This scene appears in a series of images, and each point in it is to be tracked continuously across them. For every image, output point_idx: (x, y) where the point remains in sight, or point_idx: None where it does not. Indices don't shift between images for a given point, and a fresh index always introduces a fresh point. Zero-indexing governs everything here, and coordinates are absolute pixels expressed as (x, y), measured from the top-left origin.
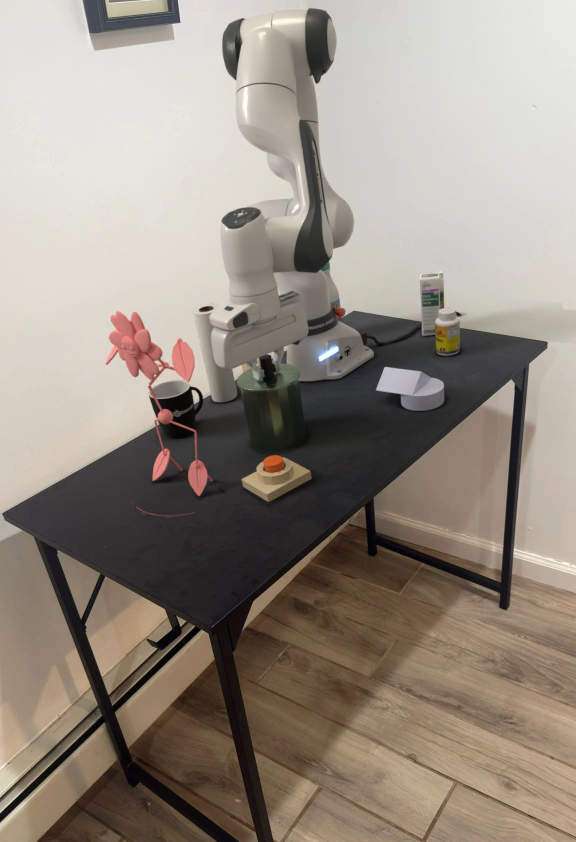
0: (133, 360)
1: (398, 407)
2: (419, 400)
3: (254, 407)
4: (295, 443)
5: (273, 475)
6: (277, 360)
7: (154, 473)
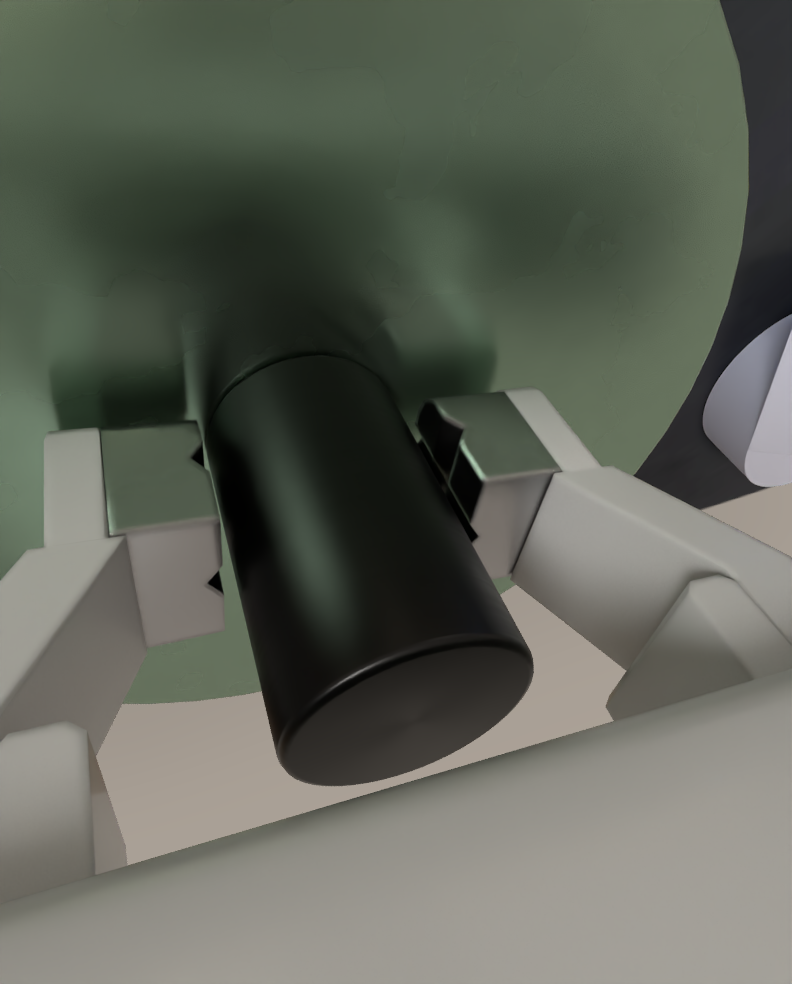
0: None
1: (724, 350)
2: (731, 456)
3: None
4: None
5: None
6: (545, 580)
7: None
